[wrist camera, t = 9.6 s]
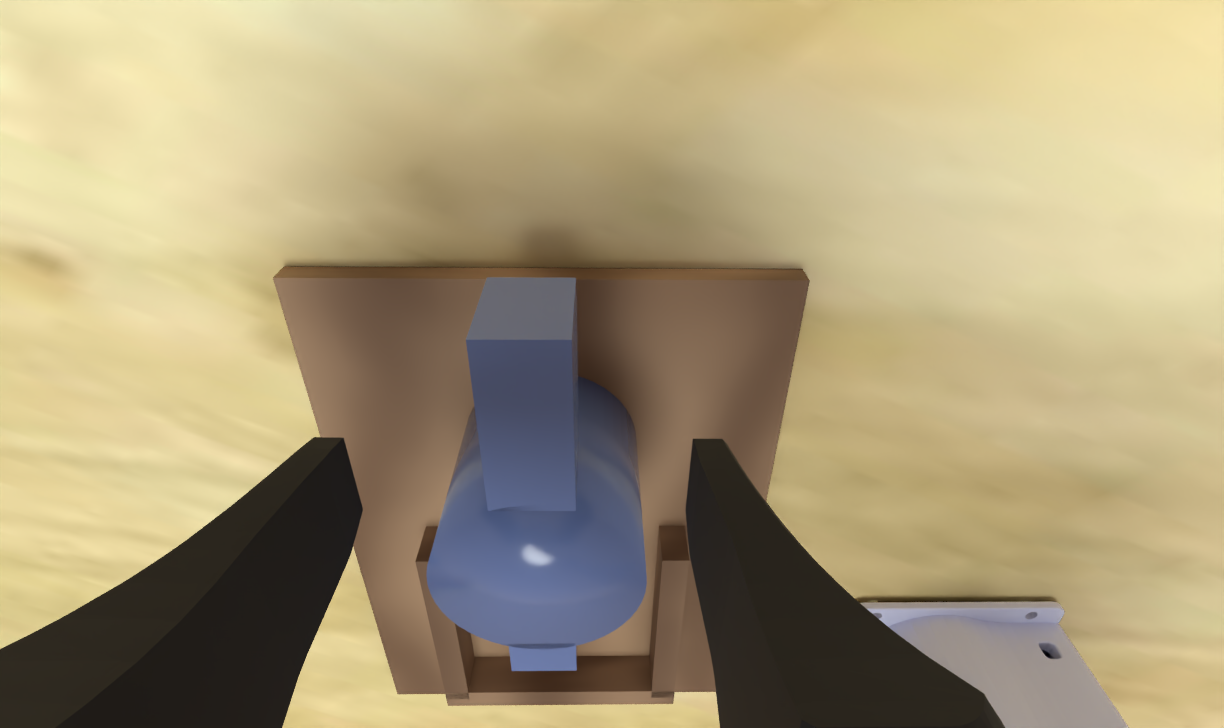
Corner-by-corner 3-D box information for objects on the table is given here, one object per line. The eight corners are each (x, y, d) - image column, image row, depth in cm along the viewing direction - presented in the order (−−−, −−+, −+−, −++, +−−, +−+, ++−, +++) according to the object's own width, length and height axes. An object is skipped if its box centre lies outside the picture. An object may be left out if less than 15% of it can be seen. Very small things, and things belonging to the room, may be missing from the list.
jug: (632, 524, 25) (641, 670, 20) (477, 524, 25) (446, 671, 20) (645, 232, 19) (662, 340, 14) (435, 231, 18) (373, 339, 13)
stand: (802, 269, 20) (826, 307, 18) (725, 675, 32) (734, 727, 30) (284, 266, 20) (246, 304, 18) (401, 678, 32) (387, 730, 30)
